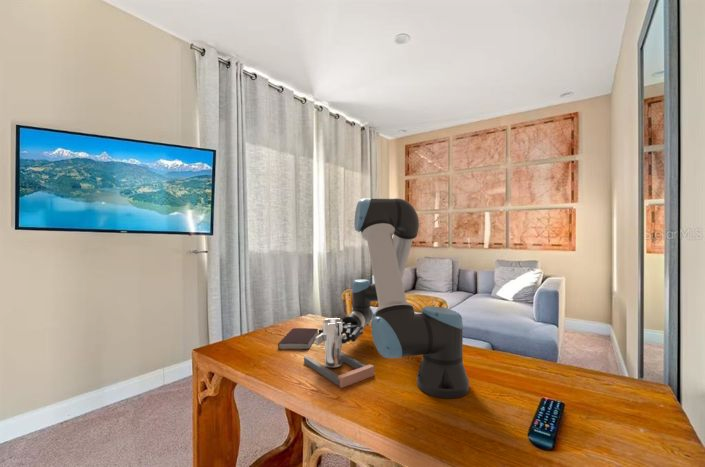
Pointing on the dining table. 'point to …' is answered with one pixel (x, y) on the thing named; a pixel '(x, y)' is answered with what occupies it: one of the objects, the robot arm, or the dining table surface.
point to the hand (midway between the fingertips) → (326, 342)
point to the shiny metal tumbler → (332, 341)
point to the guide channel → (346, 378)
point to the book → (298, 339)
